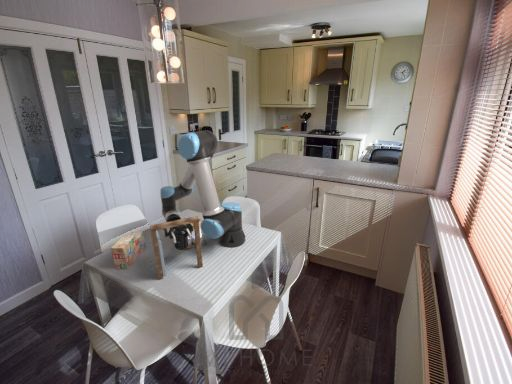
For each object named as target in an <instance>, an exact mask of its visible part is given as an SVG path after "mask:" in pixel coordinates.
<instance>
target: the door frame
mask: <svg viewBox="0 0 512 384" xmlns="http://www.w3.org/2000/svg"><path fill="white" fill-rule="evenodd" d="M189 223H190V224H193V232H194V240H195V241H194V243H195V251H196V261H197V262H196V263H197V267H198V269H200V268H204V266H203V265H204V264H203V263H204V262H203V252H202V244H201V243H202V241H201V232H200V231H201V230H200V220H199V216H197V215H196V216H191V217H190V216H189V217H185V218H181V219H180V220H175V221H170V222H166V221H165V222H162V223H161V222H160V223H157V224H151V225H149V228H150V229H149V230H150V234H151V235H150V236H151V242H152V248H153V254H154V260H155V266H156V267H155V268H156V272H157V279H158V280H163V279H164V276H163V273H162V267H161V261H160V254H159V247H158V241H157V234H156V231H161V230H163V229H166V228H167V229H170V228H171V227H175V226H180V225H185V224H189Z"/></svg>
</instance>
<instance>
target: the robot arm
mask: <svg viewBox="0 0 512 384" xmlns="http://www.w3.org/2000/svg"><path fill="white" fill-rule="evenodd" d="M218 143H219V142H218V138H217V136H216V134H215V133H213V132H212V131H210V130H200V131H198V130H197V131H194V132H193V131H192V132H188V133H184V134H183V135H182V136H180V138H179V140H178V142H177V150H178V153H179V154H180V156H181V157H182V158H183V159H185V160H186V163H187V164H189V166H188V167H187V169H186V172H185V174H184V175H183V178H182V179H181V181H180V182H179V184H178V185H177V186H175V187H174V186H171V185H165V186H163V187H161V188H160V192H159V193H160V199H161V213H162V216H163V217H164V220H165V222H170V221H175V220H180V219H182V218H181V217H180V215H179V213H178V211H177V204H176V201H179V200H181V199H183V198H185V197H187V196H189V195H191V194H193V193H194V186H195V184H196V187H197V190H198V193H199V197H200V201H201V204H202V208H203V212H202V218H203V220H202V221H201V223H200V229H201V231H202V233H203V235H205V236H207V237H208V238H210V239H215V240H216V239H218V240H219V244H220V245H221V246H224V247H226V248H237V247H239V246H242V245H244V244H245V242H246V235H245V232H244V229H243V220H242V218H243V216H242V214H243V213H242V212H243V210H242V206H241V204H239V203H238V202H229V201H228V202H223V203H220V202H221V201H220V199H219V195H218V192H217V188H216V185H215V182H214V177H213V173H212V170H211V169H212V168H211V165H210V163H209V162H210V159H211V158H213V157H214V156H215V153H216V151H217V149H218ZM185 229H186V230H187V232H188V239H189V240H192V239H193V238H192V232H194V225H192V223H189V224H185ZM162 230H163V231H164V237H165V238H169V239H170V240H173V243H176V237H175V235H174V233H173V232H174V230H175V227H171V228H169V231H168V228H166V229H162Z"/></svg>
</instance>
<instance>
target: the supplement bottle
mask: <svg viewBox="0 0 512 384" xmlns="http://www.w3.org/2000/svg"><path fill="white" fill-rule="evenodd" d="M173 233H174V235H175V237H176V243H174V242H173V243H174V249H175V250H177V251H182V250H186V249H187V248H188V247H189V237H188V232H187V230H186V229H185V225H180V226H175V229H174V231H173Z"/></svg>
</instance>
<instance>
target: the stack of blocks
mask: <svg viewBox="0 0 512 384" xmlns="http://www.w3.org/2000/svg"><path fill="white" fill-rule="evenodd" d="M144 236H145V235H144V232H143V231H141V232H140V231H138V232H135V231H134V232H133V231H132V232H131V233H130V234H129V235H127V234H126V235H122V236H121V237H120V238H119V239H118V241H116V242H115V243H114V244H113V245H112V246H111V247H110V251H111V255H112V260H113V263H114V264H113V266H114V268H115V270H128V269H129V268H130V267H131V266H132V265H133V263H134V262H135V261H136V260H137V258H138V257H139V255H140V254H141V253H142V252H143V250H145V248H146V247H147V246H146V240H145V237H144Z"/></svg>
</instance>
